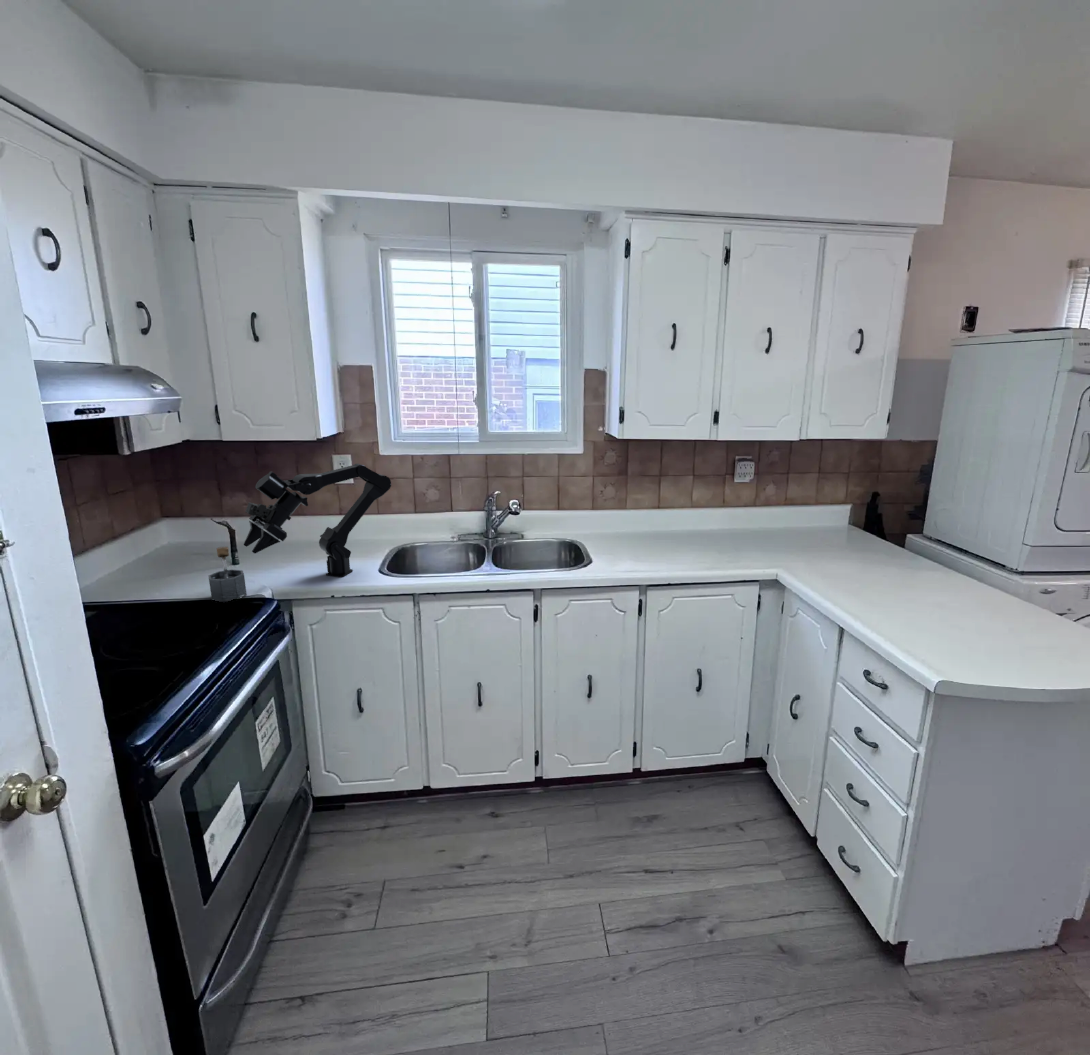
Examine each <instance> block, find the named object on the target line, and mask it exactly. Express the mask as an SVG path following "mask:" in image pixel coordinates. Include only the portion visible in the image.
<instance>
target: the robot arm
mask: <svg viewBox="0 0 1090 1055" xmlns="http://www.w3.org/2000/svg"><path fill="white" fill-rule="evenodd" d="M356 478H360V479H361V480H362V481H364V482H365V483H364V485H363V486H364V487H363V491H362V493H361V494H360V495H359V496H358V498H357V500H355V502H354V503H353V505H351V507H350V508H349V510H348V511H347V512H346V513H345V515H344V516H343V517H342V518H341V520H340V521H339V522H338V524H337V525H336V526H334V527H333V528H332V527H330V526H327V527H326V528H325V530H324V532H323V533H322V534H320V535H319V537H320V538H319V540H318V545H319V547H320V549H321V550H322V551H324V552H325V554H326V555H328V556H326V557H327V558H326V569H327V573H325V576H330V577H338V578H339V577H340V578H343V577H345V576H347V575H348V574H350V573H351V572H353V571H354V570H353V568H352V569H351V566H350V558H351V554H352V551H351V550H350V549H348V548H346V544H347V542H348V539H349V534H350V533H351V532H352V530H354V527H355V526H356V525H357V523H359V521H360V520H361V518H362V517H363V516H364V515H365V513H366V512H367V511H368V510H369V508H370V507H371V506H372V504H374V502H375V501H376V500H378V499H379V498H381V497H383V496H384V495H385V494H386V493H387V492H388V491H390V490H391V487H392V480H391V478H390V477H389V476H388V475H385V474H380V473H378V472H375V471H374V470H371V468H368V467H367V466H366V465H364V464H361V463H354V464H352V465H348V466H345V467H340V468H335V469H332V470H329V471H325V472H321V473H318V472H317V473H300V474H297V475H295V476H294V477H293V478H291V479H287V480H283V479H281V478H280V477H279V476H278V475H277V474H276V473H275V472H273V471H269V472H268V473H267V474H265V475H264V476H262V478H260V479H259V480H258V481H257V482H256V484H255V489H256V490H257V491H259V492H260V493H262V494H263V495H264V496H266V497H267V498H269V499H270V500H275V499H276V502H275V503H274V504H268V506H267V505H265V504H262V503H258V504H257V503H253V502H247V505H246V509H245V513H247V514H248V515H249V518H248V519H249V521H248V523H249V527H250V529H249V531H248V533H247V536H246V538H245V540H244V543H243V546H245V547H248V546H250V545H252V544H253V543H255V542H257V543H256V544H255V545H254V547H253V548H252V550H251V552H252V553H253V554H257V553H259V552H261V551H263V550H265V549H267V548H269V547H271V546H273V545H276V544H279V543H281V542H284V541H286V538H287V537H288V535H287V534H288V532H287V531H285V530H283V525H284V524H285V523H286V521H287V520H288V521H291V519H292V517H291V516H292V515H293V513H294V512H295V511H296V509H298V507H299V506H300V505H303V506H305V507H308V506H309V503H308V497H306V496H307V495H312V494H314V493H316V492H318V491H320V490H322V489H323V488H325V487H326V486H330V485H333V484H338V483H341V482H345V481H348V480H352V479H356ZM288 489H289V490H291V491H292V492H291V491H289V490H288ZM299 493H300V494H299ZM301 494H302V495H305V496H301ZM250 520H251V521H250Z"/></svg>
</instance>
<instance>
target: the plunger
mask: <svg viewBox="0 0 1090 1055" xmlns="http://www.w3.org/2000/svg"><path fill="white" fill-rule="evenodd" d="M229 551H230V550H229V546H220V547H217V548H216V554H217V558H221V562H222V567H223V568H222V569H223V570H222V571H224V577H221V578H218V579H219V580H222V579H228V578H234V577H236V576H228V570H229V569H228V564H227V557H229V556H230V552H229Z"/></svg>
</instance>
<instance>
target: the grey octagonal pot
mask: <svg viewBox="0 0 1090 1055" xmlns="http://www.w3.org/2000/svg"><path fill="white" fill-rule="evenodd" d="M227 570H228V576H236V577H234V578H228V579H222V580H219V579H218V578H221V577H224V570H221V571H216V572H214V573H211V574H209V575H208V582H209V589H210V598H211V600H212V599H214V600H215V601H219V602H223V603H225V602H226V603H229V602H228V601H231V600H233V599H237V598H240V597H244V598H246V596H247V587H246V579H245V573H244V570H242V569H241V570H240V569H227ZM223 603H222V604H223Z"/></svg>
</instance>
